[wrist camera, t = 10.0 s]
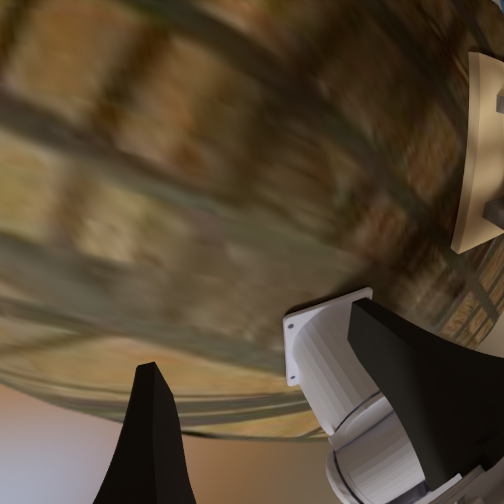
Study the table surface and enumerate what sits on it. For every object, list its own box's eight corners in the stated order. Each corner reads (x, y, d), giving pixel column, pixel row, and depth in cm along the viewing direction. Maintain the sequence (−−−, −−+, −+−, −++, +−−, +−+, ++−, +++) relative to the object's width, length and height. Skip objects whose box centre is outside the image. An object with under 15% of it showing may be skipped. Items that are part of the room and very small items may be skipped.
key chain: (527, 51, 18) (533, 52, 18) (504, 68, 19) (510, 70, 18) (488, -57, 10) (493, -58, 10) (456, -58, 11) (462, -59, 10)
